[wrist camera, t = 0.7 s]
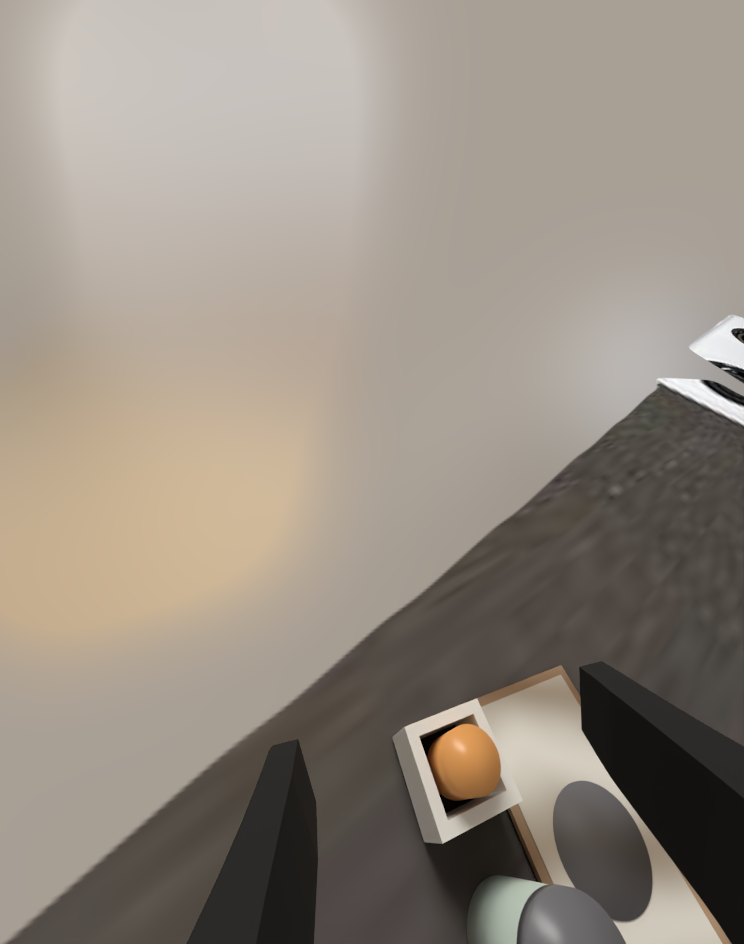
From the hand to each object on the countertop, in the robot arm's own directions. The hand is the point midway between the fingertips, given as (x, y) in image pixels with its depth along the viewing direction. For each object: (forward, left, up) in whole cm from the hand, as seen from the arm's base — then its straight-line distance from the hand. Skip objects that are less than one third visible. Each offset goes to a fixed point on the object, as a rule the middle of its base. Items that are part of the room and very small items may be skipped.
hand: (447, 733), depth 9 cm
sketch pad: (-6, -12, -15) cm, 20 cm away
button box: (-1, -5, -15) cm, 16 cm away
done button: (-1, -5, -14) cm, 15 cm away
